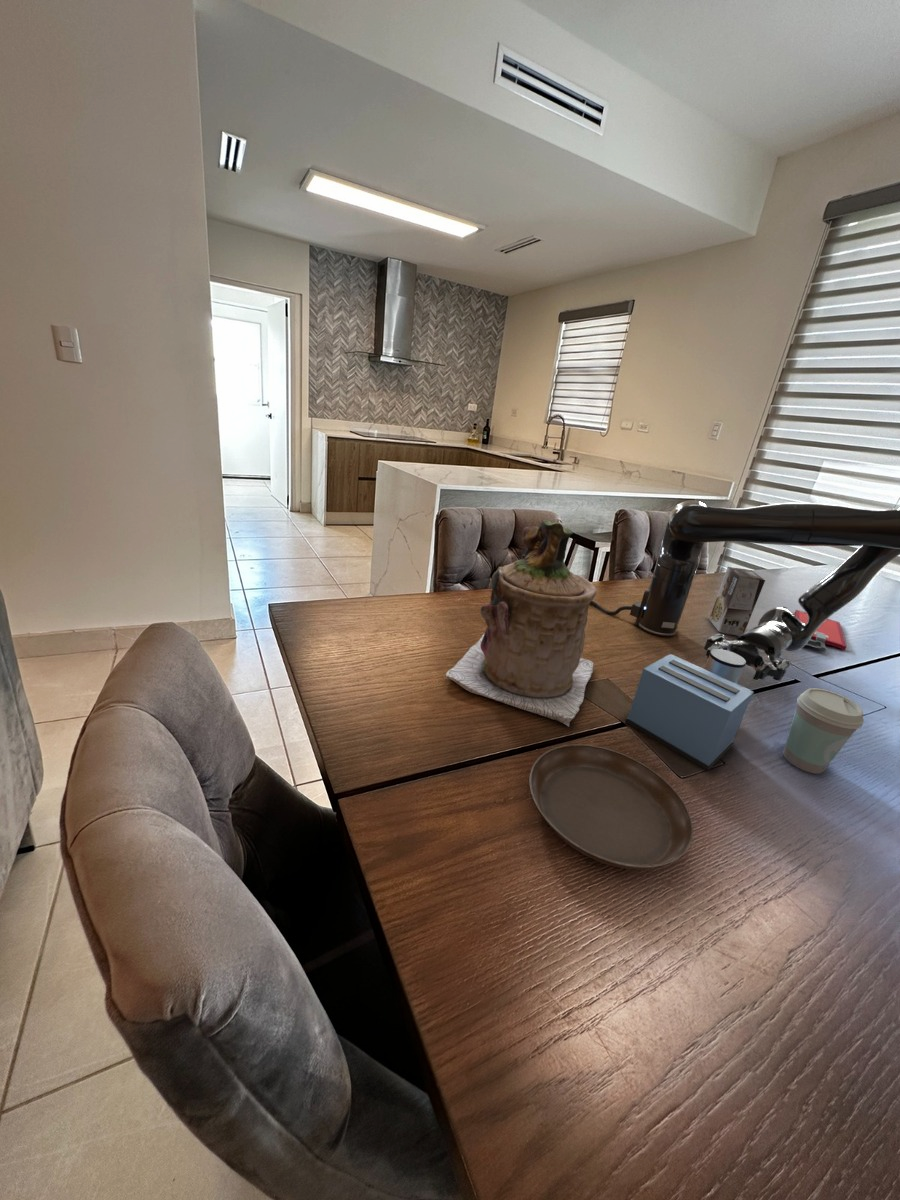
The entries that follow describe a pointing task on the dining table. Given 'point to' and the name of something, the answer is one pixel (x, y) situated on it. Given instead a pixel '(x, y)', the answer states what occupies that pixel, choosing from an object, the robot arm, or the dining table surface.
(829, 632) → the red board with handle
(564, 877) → the dining table surface
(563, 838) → the plant saucer
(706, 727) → the toaster
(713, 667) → the canister
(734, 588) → the coffee box
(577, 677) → the cookie jar
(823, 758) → the coffee cup
